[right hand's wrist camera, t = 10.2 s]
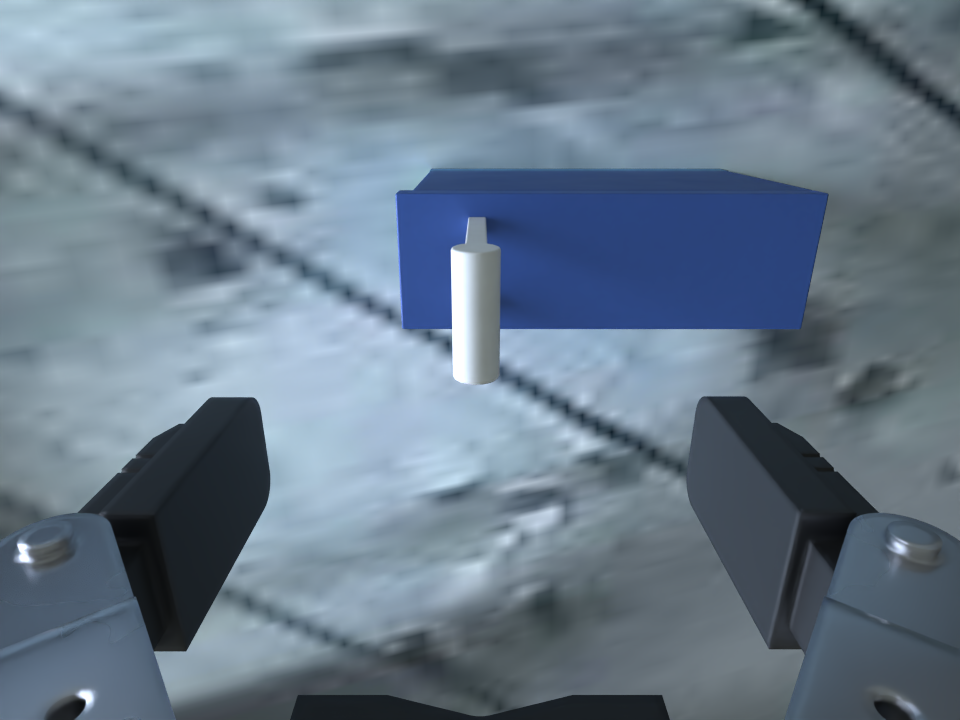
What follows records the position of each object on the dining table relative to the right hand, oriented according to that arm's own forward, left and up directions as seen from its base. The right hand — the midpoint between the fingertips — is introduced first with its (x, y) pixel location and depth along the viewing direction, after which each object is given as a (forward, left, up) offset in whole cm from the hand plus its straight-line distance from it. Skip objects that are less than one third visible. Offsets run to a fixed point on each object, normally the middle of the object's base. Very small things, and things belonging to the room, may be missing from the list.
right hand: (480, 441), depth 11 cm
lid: (+1, +5, -16) cm, 17 cm away
